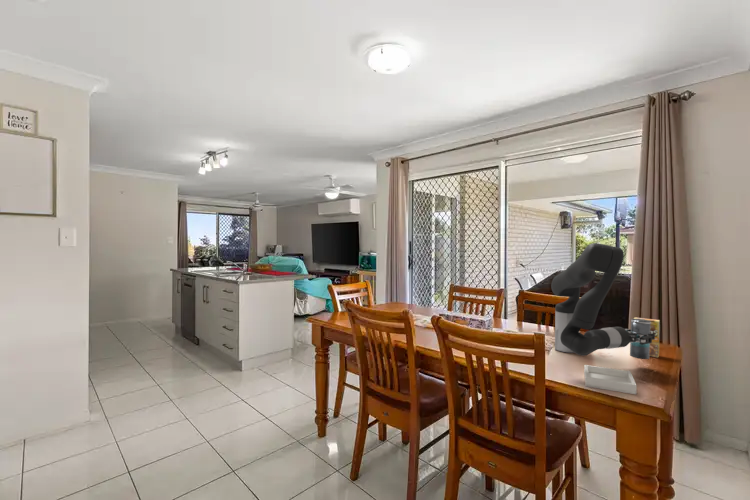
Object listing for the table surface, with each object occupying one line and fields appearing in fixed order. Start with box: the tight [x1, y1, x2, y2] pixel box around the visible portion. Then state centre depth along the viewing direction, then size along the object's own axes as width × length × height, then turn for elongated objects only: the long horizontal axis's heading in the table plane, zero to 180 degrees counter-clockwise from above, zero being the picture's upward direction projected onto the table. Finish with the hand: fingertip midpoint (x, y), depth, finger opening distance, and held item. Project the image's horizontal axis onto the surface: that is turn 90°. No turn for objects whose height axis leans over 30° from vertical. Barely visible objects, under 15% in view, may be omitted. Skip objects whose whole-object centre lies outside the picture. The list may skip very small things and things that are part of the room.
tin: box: [629, 318, 651, 360], centre depth 139 cm, size 6×6×14 cm
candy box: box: [633, 316, 661, 358], centre depth 155 cm, size 9×4×15 cm, turn 50°
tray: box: [583, 364, 637, 395], centre depth 125 cm, size 14×14×3 cm
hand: (644, 334), depth 139 cm, fingers closed on tin, 6 cm apart
